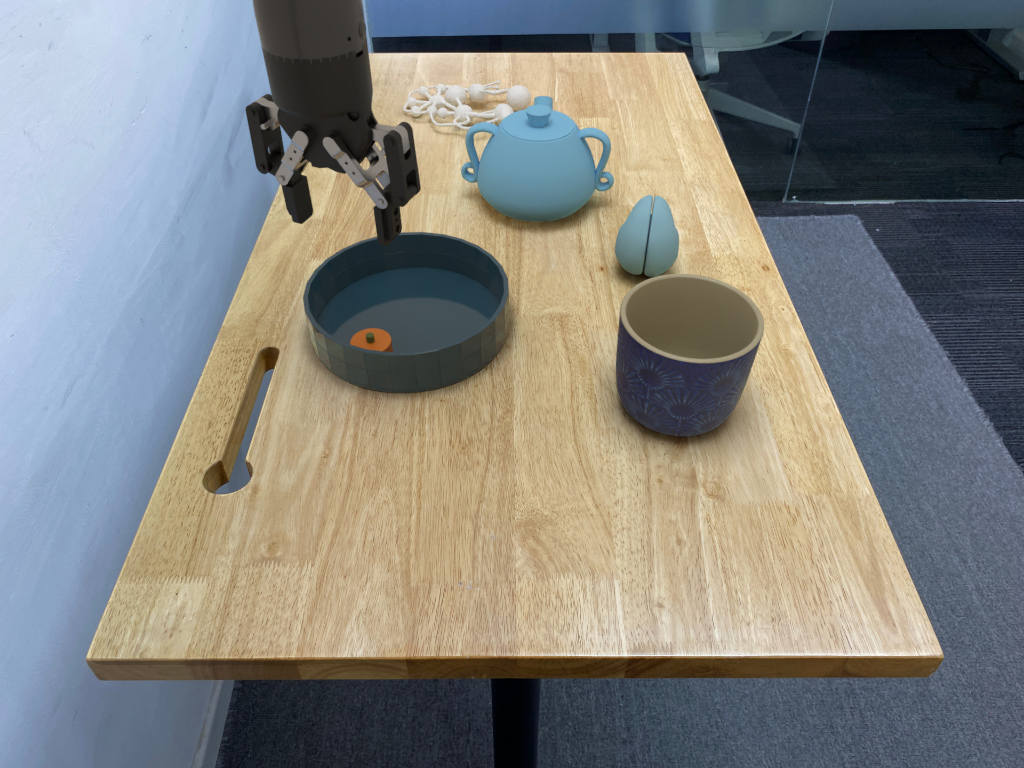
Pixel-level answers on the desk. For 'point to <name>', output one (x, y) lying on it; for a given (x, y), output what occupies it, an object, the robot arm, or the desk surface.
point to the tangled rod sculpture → (457, 96)
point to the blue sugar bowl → (537, 164)
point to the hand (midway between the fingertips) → (345, 229)
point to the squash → (372, 340)
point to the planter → (685, 352)
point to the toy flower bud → (648, 238)
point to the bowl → (409, 311)
